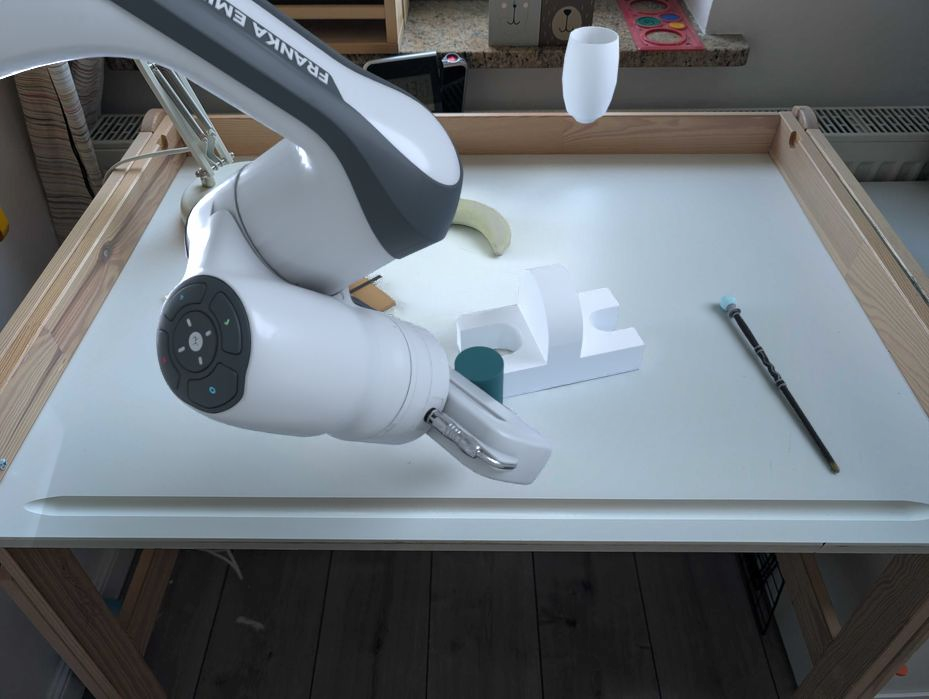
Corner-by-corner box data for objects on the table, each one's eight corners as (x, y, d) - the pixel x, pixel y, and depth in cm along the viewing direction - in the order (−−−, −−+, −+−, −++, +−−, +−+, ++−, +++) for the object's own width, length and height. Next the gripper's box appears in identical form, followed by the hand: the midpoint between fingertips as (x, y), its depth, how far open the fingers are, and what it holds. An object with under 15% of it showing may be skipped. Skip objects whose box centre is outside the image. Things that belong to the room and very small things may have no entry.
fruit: (427, 203, 101) (425, 182, 99) (524, 230, 96) (525, 210, 94) (400, 229, 97) (398, 208, 95) (500, 260, 92) (500, 239, 89)
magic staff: (831, 480, 68) (827, 473, 67) (720, 305, 85) (715, 297, 84) (849, 471, 67) (845, 464, 66) (733, 297, 85) (729, 289, 83)
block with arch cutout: (604, 311, 84) (616, 233, 76) (639, 369, 77) (656, 290, 70) (455, 340, 81) (452, 262, 73) (479, 403, 74) (478, 324, 67)
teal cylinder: (478, 473, 63) (477, 388, 56) (448, 447, 66) (444, 362, 58) (510, 449, 65) (514, 364, 58) (480, 424, 67) (480, 339, 60)
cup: (562, 163, 109) (575, 21, 94) (609, 172, 106) (629, 29, 92) (547, 187, 104) (557, 41, 89) (595, 197, 102) (614, 50, 87)
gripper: (516, 424, 44) (598, 437, 56) (322, 278, 55) (425, 315, 67) (464, 508, 45) (556, 504, 57) (284, 348, 56) (392, 372, 67)
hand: (484, 401), depth 62 cm, fingers closed on teal cylinder, 4 cm apart
